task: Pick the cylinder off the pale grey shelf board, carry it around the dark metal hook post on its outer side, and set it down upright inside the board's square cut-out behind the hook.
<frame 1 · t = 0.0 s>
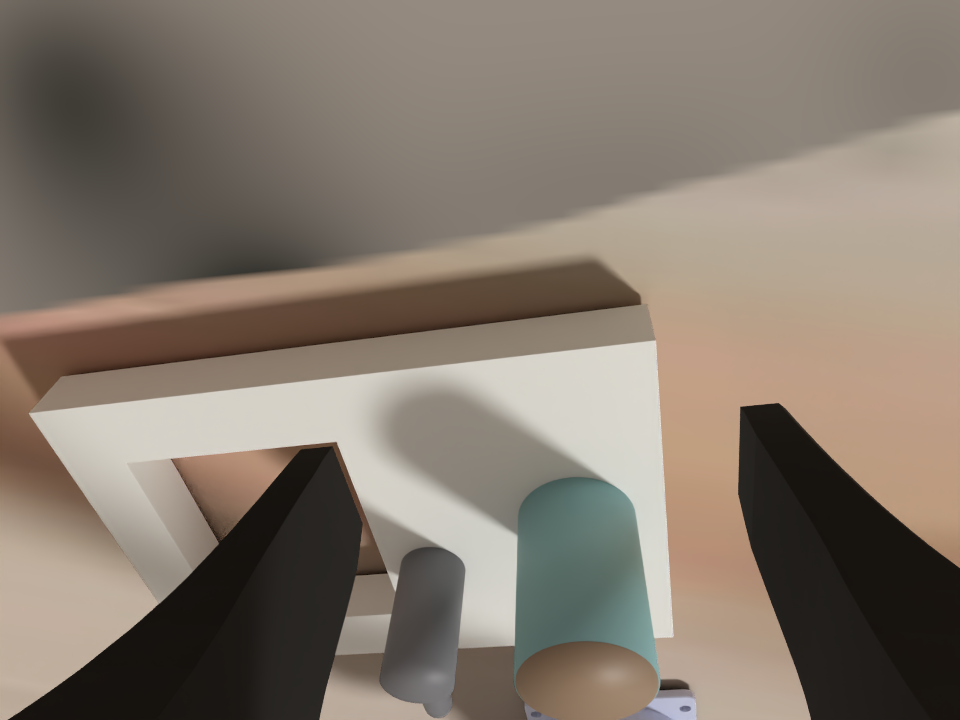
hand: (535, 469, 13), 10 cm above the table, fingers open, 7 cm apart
shelf board: (389, 494, 28), on the table
cylinder: (576, 519, 25), point 2 cm above the table, touching shelf board
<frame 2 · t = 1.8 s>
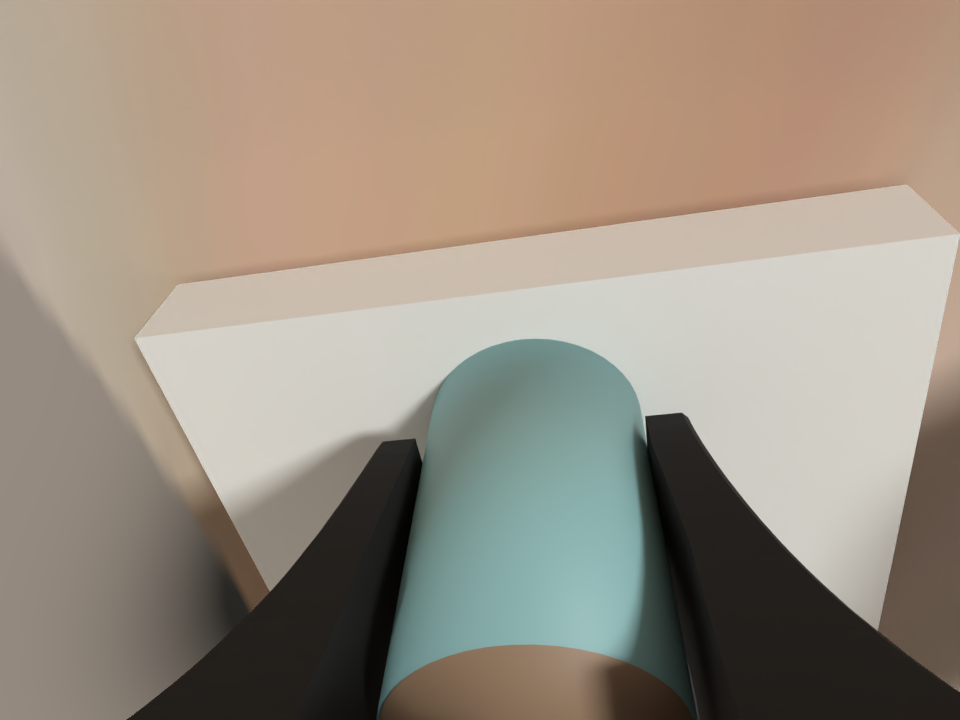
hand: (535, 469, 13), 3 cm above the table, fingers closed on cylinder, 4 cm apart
shelf board: (571, 576, 20), on the table
cylinder: (535, 425, 14), point 2 cm above the table, touching gripper, shelf board
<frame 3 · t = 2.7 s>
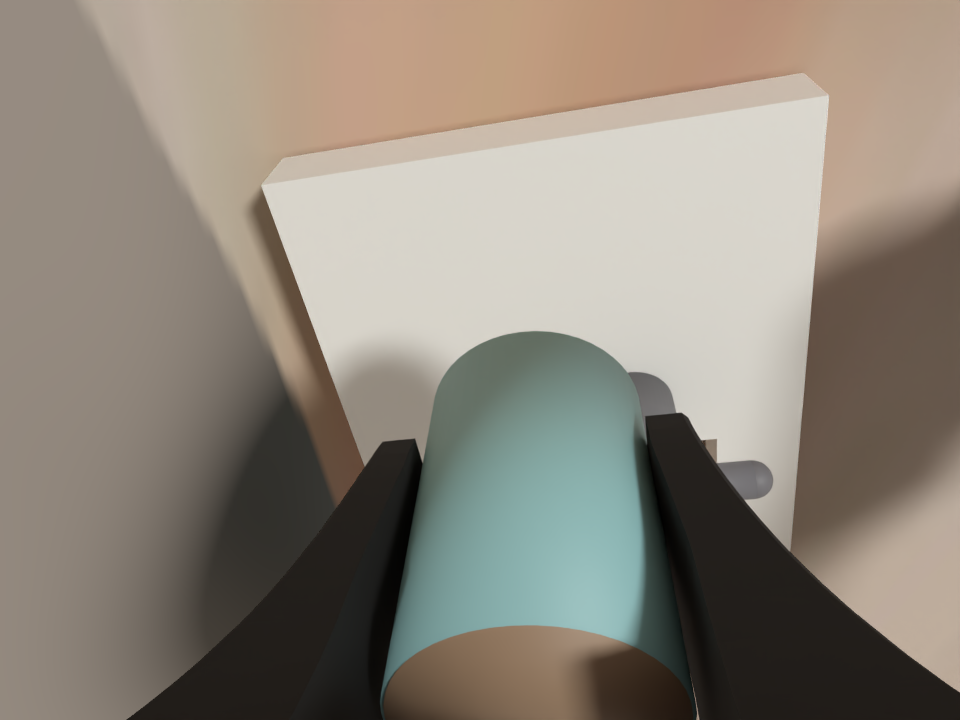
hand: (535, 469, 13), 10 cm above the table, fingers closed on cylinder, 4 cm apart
shelf board: (570, 407, 25), on the table
cylinder: (535, 417, 14), point 9 cm above the table, touching gripper
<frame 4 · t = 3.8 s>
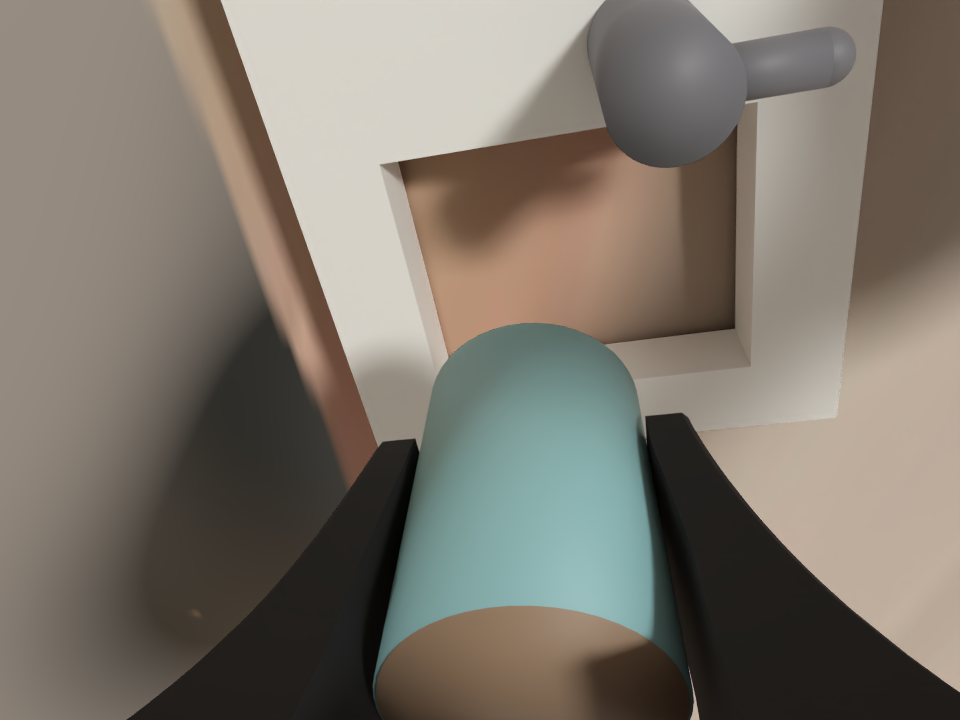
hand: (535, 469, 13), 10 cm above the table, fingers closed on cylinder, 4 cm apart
shelf board: (557, 99, 19), on the table
cylinder: (533, 411, 14), point 8 cm above the table, touching gripper
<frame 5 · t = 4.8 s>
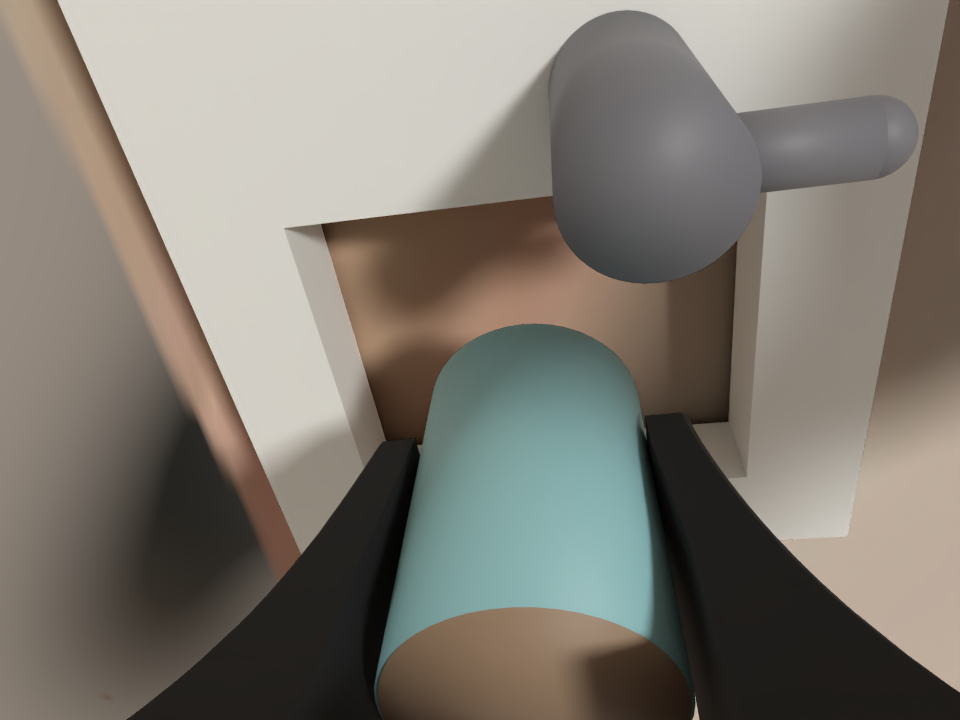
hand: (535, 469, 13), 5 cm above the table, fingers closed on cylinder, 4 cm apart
shelf board: (515, 149, 15), on the table
cylinder: (534, 412, 14), point 4 cm above the table, touching gripper
when the fingers open (3 cm above the table, at t = 5.7 s): cylinder drops 1 cm, resting in shelf board.
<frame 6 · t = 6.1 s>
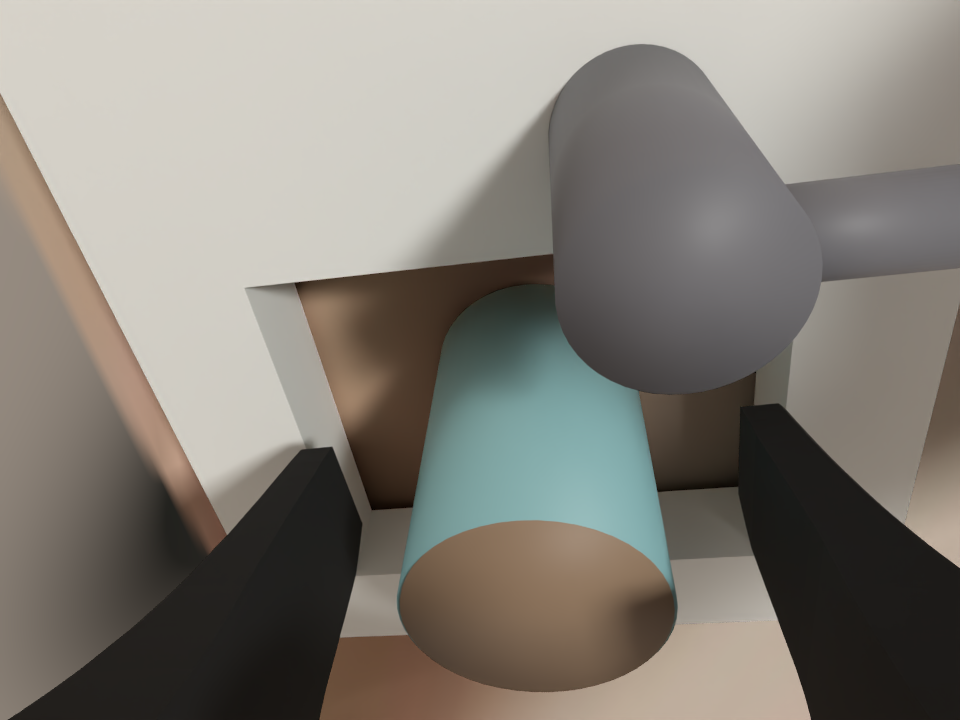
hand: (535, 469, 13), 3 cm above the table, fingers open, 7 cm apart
shelf board: (511, 194, 13), on the table
cylinder: (535, 367, 15), resting in shelf board
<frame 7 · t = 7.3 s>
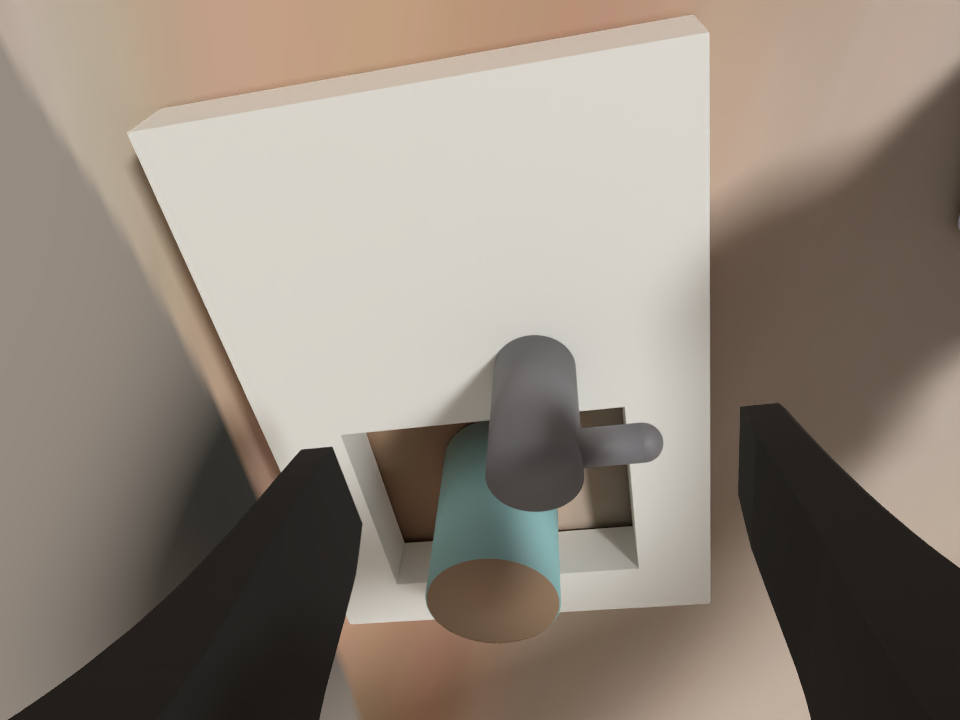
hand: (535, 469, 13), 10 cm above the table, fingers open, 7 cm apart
shelf board: (480, 376, 24), on the table
cylinder: (499, 461, 26), resting in shelf board
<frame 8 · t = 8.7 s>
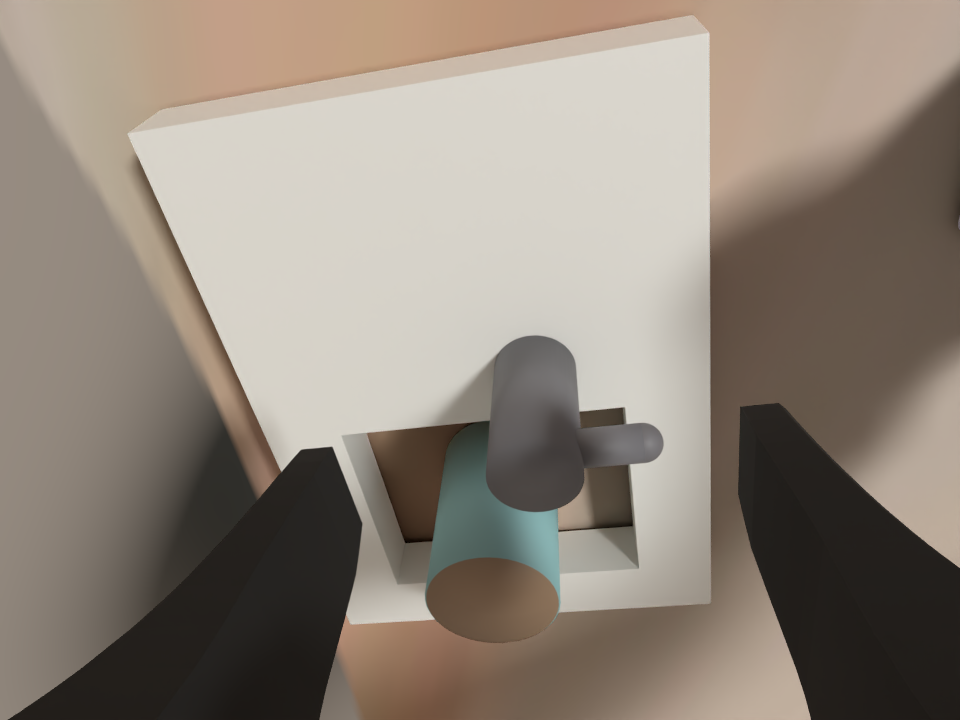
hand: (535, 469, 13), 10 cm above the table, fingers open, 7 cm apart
shelf board: (481, 376, 24), on the table
cylinder: (500, 461, 26), resting in shelf board
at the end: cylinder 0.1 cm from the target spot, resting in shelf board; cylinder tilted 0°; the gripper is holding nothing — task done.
